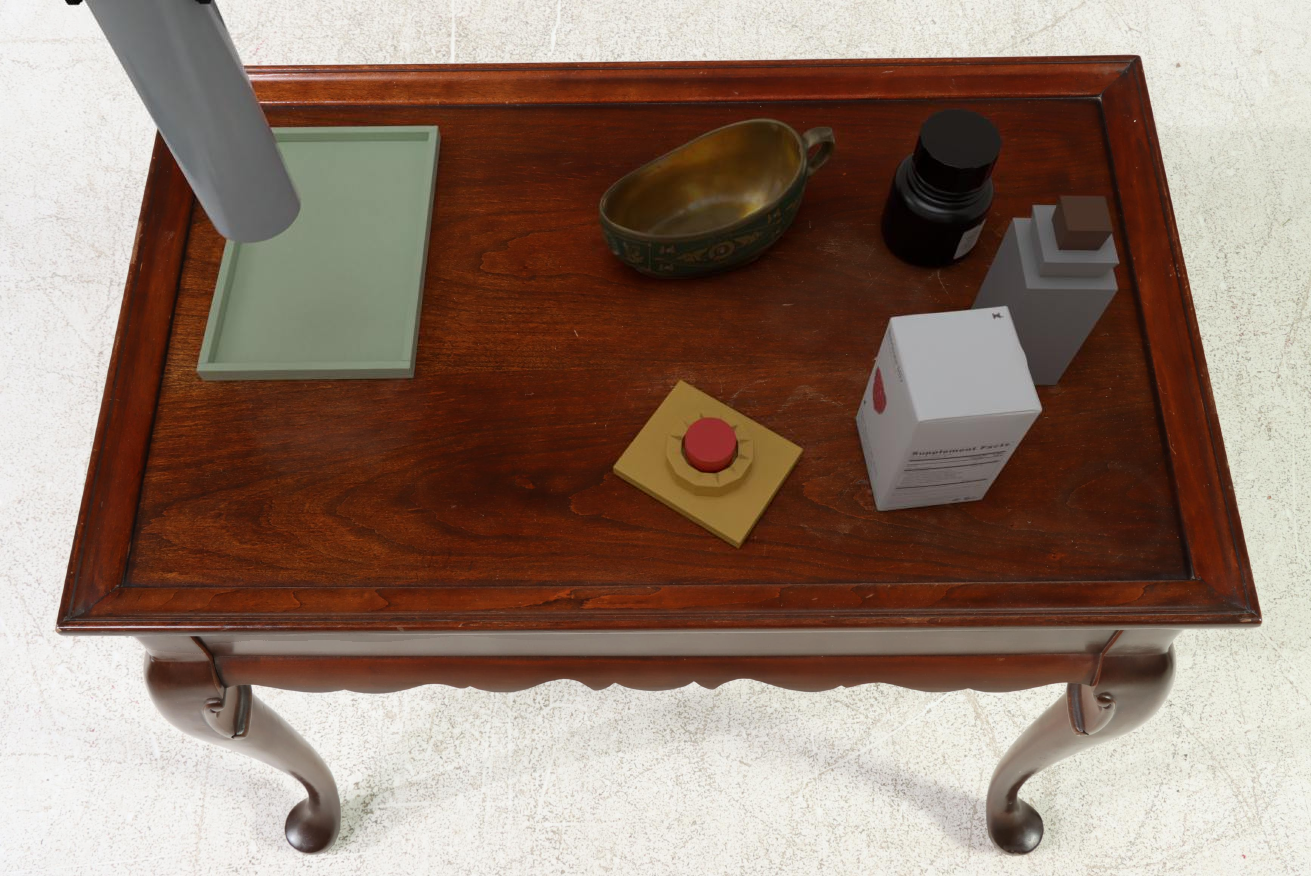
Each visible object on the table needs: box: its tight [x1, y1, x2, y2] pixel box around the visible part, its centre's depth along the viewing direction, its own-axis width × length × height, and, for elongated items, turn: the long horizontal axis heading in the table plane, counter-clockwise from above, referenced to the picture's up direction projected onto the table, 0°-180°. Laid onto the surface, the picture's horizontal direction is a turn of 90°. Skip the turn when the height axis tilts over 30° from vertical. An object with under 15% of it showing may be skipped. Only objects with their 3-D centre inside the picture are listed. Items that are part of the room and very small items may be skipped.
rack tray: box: [196, 125, 442, 382], centre depth 94 cm, size 28×18×2 cm, turn 1°
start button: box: [685, 417, 736, 472], centre depth 81 cm, size 4×4×2 cm
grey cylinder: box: [84, 0, 301, 243], centre depth 66 cm, size 7×7×24 cm
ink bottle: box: [880, 108, 1003, 267], centre depth 91 cm, size 10×9×12 cm
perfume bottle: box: [970, 195, 1120, 386], centre depth 82 cm, size 7×7×18 cm
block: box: [612, 379, 804, 549], centre depth 83 cm, size 10×12×3 cm
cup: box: [598, 117, 836, 280], centre depth 91 cm, size 13×20×10 cm, turn 86°
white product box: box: [855, 306, 1043, 512], centre depth 78 cm, size 9×9×15 cm
